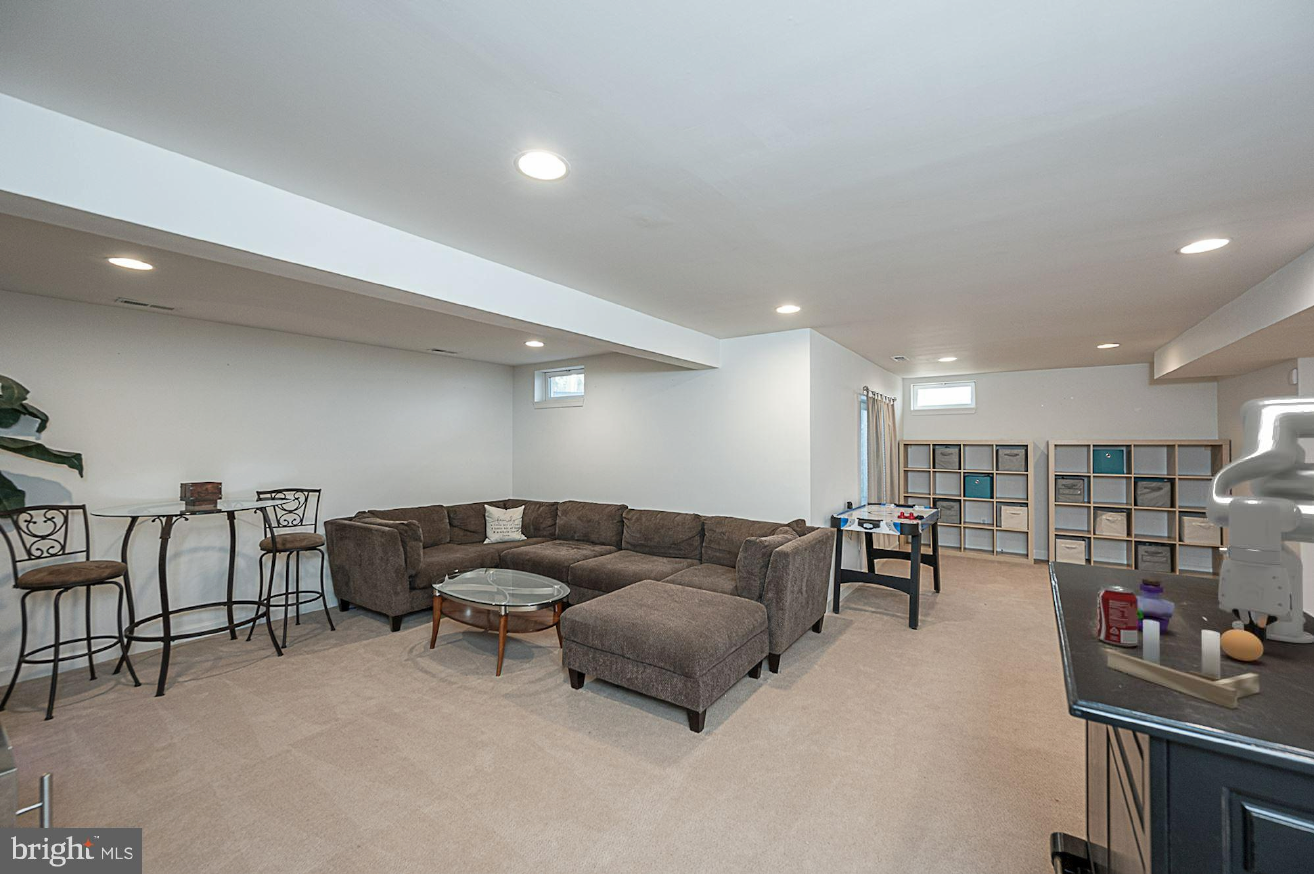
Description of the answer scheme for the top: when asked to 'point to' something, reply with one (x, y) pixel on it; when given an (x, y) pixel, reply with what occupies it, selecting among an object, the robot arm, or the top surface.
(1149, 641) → the grey pin
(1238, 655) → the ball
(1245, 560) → the robot arm
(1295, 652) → the top surface
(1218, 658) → the ivory pin
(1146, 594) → the potion bottle
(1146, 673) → the wooden t-square
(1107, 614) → the soda can
